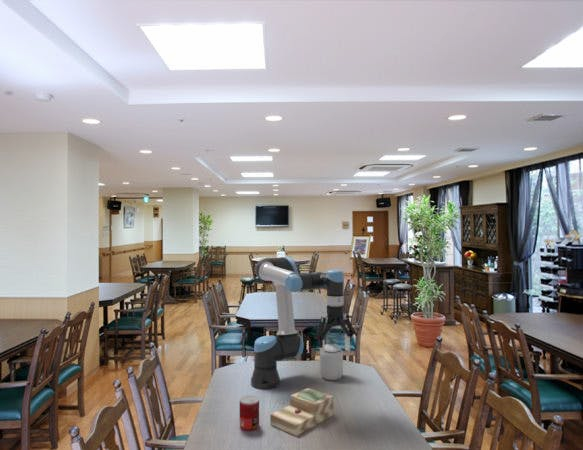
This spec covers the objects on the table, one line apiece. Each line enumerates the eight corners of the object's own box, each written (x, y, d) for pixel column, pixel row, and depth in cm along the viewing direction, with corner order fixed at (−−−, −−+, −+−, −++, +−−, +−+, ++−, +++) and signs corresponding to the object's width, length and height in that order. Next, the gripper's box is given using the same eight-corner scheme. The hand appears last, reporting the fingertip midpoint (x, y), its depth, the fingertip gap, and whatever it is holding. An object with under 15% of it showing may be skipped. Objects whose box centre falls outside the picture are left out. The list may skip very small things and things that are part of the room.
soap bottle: (334, 383, 208) (334, 322, 208) (315, 377, 216) (315, 319, 216) (347, 376, 217) (347, 318, 217) (328, 371, 225) (328, 315, 225)
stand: (296, 436, 155) (296, 414, 155) (270, 424, 164) (270, 403, 164) (333, 414, 172) (333, 395, 172) (308, 405, 182) (308, 386, 182)
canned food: (256, 432, 158) (256, 404, 158) (236, 430, 159) (236, 402, 159) (261, 423, 165) (261, 396, 165) (242, 421, 167) (242, 394, 167)
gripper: (315, 309, 170) (315, 359, 170) (362, 303, 182) (362, 350, 182) (306, 306, 177) (306, 354, 177) (352, 301, 189) (352, 346, 188)
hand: (334, 352), depth 179 cm, fingers open, 13 cm apart
